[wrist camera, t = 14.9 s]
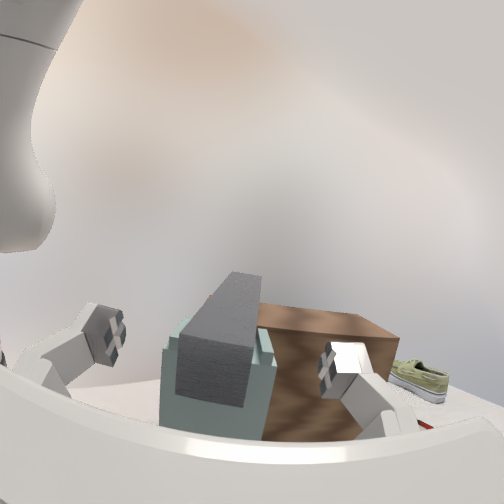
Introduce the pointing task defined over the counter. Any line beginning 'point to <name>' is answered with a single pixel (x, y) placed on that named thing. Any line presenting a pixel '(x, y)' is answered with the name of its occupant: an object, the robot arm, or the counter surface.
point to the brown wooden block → (315, 371)
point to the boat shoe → (420, 379)
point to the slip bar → (220, 344)
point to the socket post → (211, 414)
